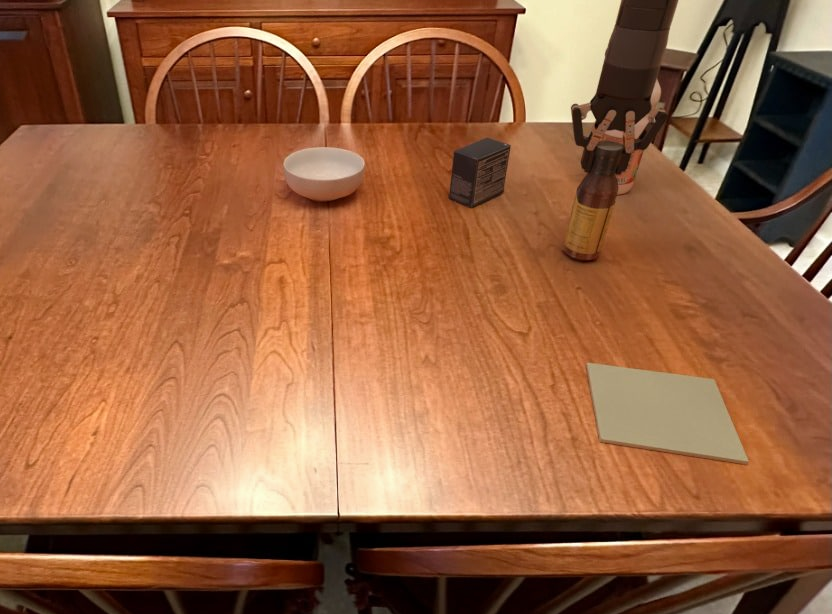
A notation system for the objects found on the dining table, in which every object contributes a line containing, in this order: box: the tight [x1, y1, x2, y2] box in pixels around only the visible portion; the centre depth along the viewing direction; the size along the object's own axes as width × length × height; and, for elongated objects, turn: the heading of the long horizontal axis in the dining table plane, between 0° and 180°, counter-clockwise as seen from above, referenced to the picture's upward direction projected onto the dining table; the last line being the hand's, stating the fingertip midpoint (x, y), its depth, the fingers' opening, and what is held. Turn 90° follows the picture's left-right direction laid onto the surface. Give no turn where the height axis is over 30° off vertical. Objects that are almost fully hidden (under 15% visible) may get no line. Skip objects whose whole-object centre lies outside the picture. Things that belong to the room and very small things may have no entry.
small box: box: [448, 137, 512, 209], centre depth 122 cm, size 11×6×10 cm, turn 130°
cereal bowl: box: [282, 146, 366, 203], centre depth 125 cm, size 17×17×7 cm
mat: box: [585, 362, 750, 465], centre depth 76 cm, size 16×14×1 cm
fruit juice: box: [585, 79, 662, 196], centre depth 119 cm, size 9×9×28 cm
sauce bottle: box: [563, 140, 623, 261], centre depth 100 cm, size 7×6×20 cm
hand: (601, 171), depth 97 cm, fingers closed on sauce bottle, 4 cm apart
